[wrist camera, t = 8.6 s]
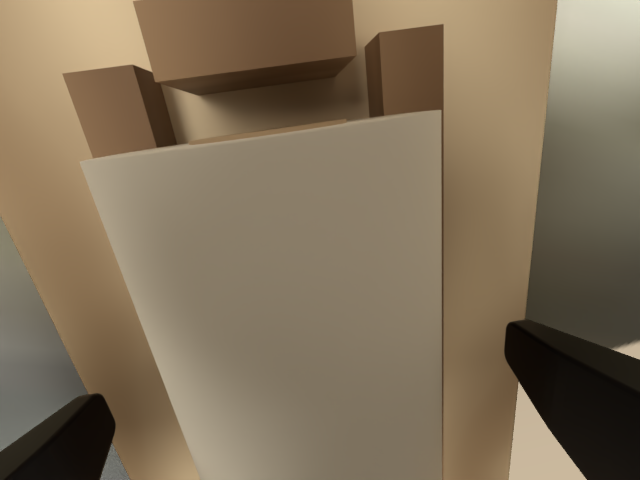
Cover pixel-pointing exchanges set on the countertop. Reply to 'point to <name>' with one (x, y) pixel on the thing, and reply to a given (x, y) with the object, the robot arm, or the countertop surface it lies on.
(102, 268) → the holder
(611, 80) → the countertop surface
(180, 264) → the roll
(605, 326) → the countertop surface
